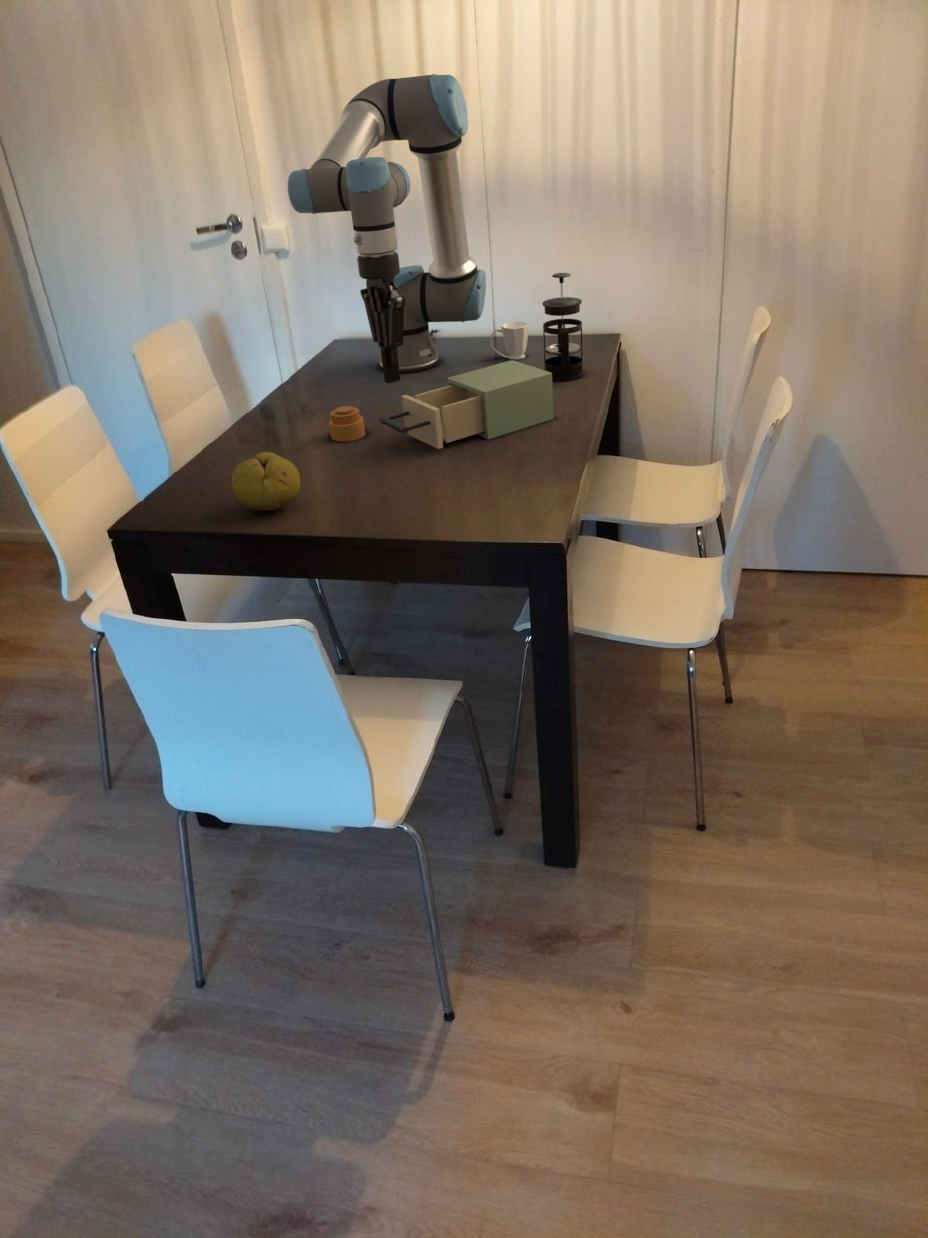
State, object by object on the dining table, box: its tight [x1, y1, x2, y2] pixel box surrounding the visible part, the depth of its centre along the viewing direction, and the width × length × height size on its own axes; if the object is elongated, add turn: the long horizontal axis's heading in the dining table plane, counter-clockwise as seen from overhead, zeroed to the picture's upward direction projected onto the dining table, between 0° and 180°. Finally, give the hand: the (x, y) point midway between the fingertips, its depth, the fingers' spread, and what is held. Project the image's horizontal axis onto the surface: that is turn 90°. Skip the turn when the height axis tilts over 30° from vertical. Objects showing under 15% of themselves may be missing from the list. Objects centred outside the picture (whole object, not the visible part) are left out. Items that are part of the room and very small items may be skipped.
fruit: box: [231, 451, 301, 512], centre depth 164 cm, size 11×12×10 cm
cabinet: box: [446, 359, 554, 440], centre depth 194 cm, size 17×14×10 cm
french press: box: [541, 272, 585, 382], centre depth 215 cm, size 12×9×23 cm
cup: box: [489, 321, 530, 361], centre depth 235 cm, size 7×10×8 cm
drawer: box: [379, 384, 485, 450], centre depth 187 cm, size 22×13×8 cm, turn 124°
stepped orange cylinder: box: [328, 405, 366, 443], centre depth 195 cm, size 7×7×6 cm
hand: (392, 380), depth 181 cm, fingers closed
